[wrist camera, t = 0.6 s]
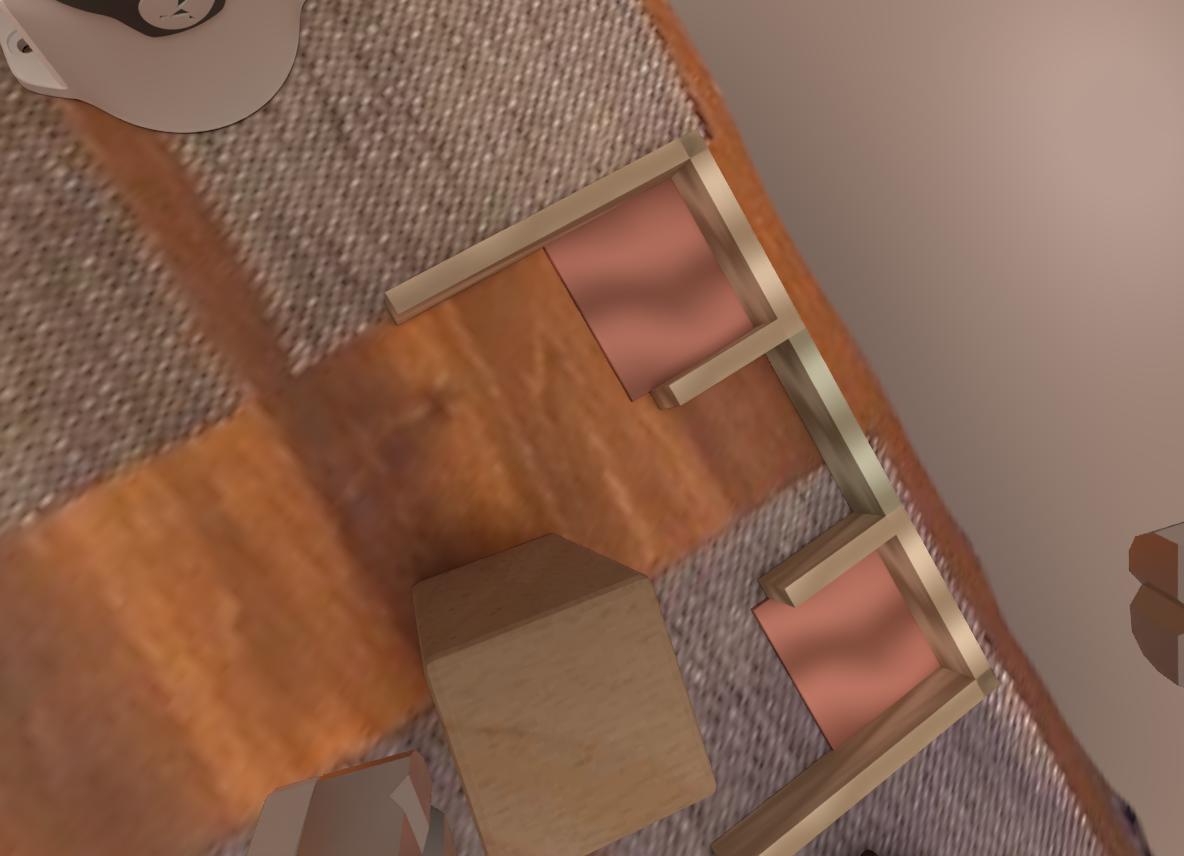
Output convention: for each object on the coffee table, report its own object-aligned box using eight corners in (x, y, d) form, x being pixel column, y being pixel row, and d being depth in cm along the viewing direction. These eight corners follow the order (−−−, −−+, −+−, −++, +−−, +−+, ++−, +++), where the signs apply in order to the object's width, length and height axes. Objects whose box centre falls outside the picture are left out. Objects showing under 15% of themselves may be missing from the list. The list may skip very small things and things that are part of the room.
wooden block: (601, 671, 53) (723, 794, 33) (458, 731, 50) (500, 902, 31) (555, 530, 52) (652, 572, 33) (409, 584, 50) (420, 663, 31)
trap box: (385, 305, 50) (385, 292, 46) (675, 151, 55) (697, 128, 52) (720, 863, 54) (745, 894, 50) (960, 670, 60) (1000, 684, 56)
